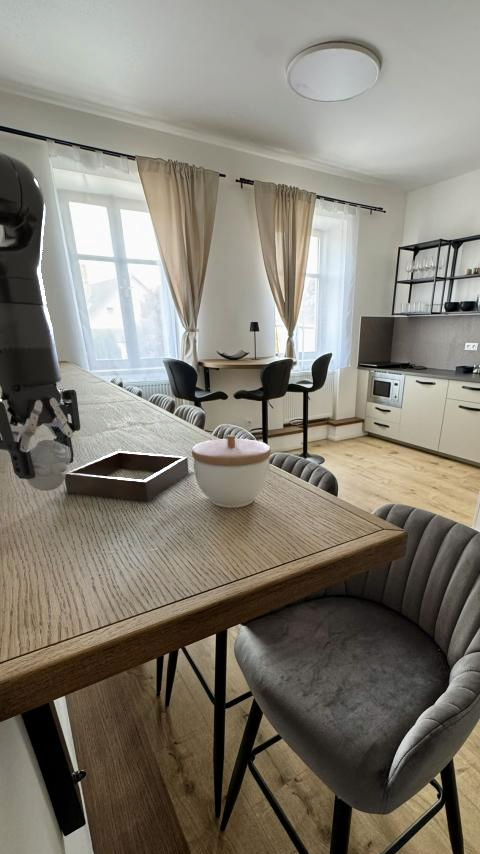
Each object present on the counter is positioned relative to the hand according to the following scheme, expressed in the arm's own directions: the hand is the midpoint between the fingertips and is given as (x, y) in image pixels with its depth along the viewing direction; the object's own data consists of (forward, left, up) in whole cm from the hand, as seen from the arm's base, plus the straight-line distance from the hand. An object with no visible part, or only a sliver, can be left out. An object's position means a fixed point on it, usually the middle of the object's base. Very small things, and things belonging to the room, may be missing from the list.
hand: (47, 469), depth 58 cm
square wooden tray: (+1, +18, -8) cm, 20 cm away
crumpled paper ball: (0, 0, -3) cm, 3 cm away
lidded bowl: (+22, +15, -8) cm, 28 cm away
